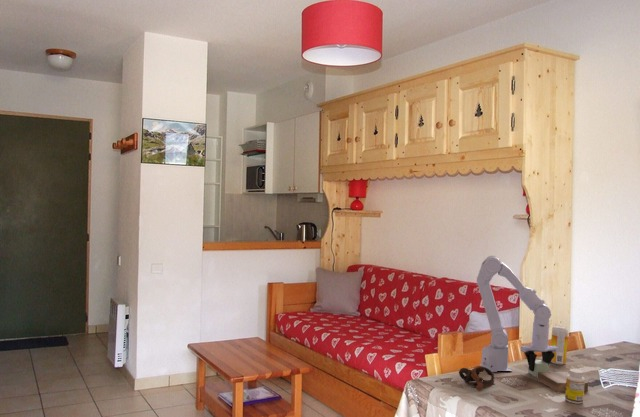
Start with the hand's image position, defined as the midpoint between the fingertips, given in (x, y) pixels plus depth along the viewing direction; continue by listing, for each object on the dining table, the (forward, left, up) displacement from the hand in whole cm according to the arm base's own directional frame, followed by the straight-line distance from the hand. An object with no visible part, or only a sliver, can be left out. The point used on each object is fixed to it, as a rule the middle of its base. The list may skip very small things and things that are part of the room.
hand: (538, 370), depth 212 cm
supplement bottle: (-4, -27, -2) cm, 27 cm away
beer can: (+19, +15, -2) cm, 24 cm away
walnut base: (+2, -12, -2) cm, 12 cm away
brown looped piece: (-32, -12, -2) cm, 34 cm away
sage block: (0, 0, -2) cm, 2 cm away
